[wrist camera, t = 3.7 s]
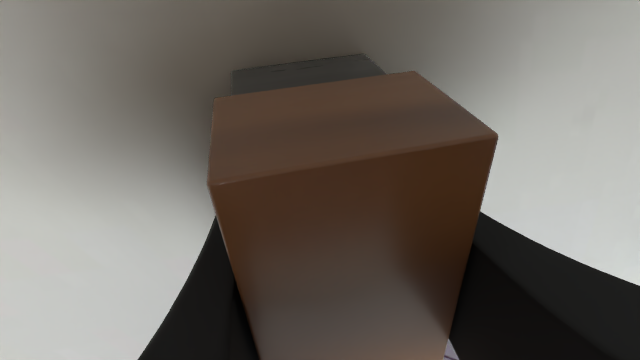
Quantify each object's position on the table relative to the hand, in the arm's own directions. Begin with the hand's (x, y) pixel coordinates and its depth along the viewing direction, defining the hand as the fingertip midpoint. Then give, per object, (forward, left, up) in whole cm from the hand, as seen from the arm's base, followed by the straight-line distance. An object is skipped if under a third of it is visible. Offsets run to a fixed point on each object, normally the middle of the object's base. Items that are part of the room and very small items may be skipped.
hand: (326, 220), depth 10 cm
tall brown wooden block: (0, 0, -2) cm, 2 cm away
